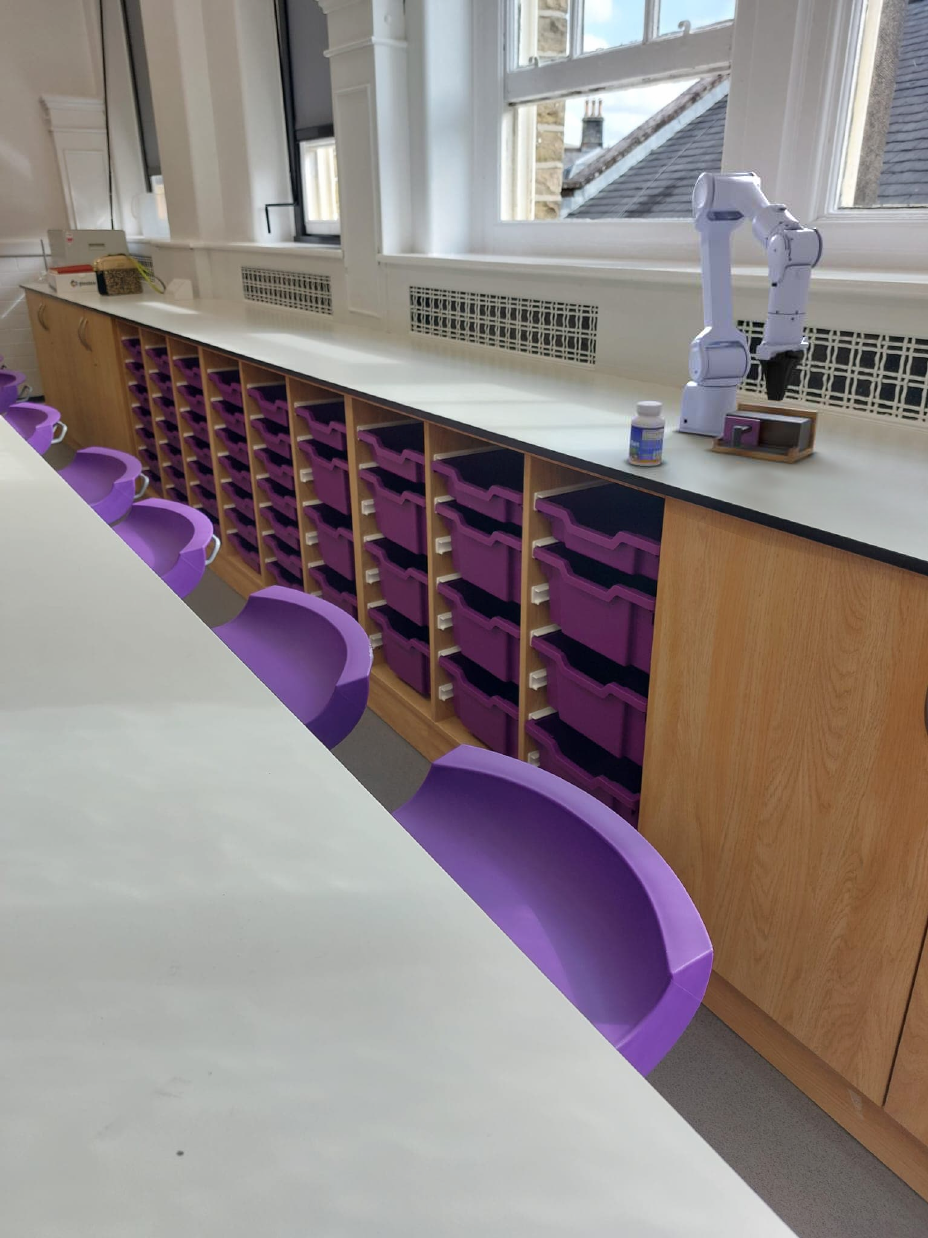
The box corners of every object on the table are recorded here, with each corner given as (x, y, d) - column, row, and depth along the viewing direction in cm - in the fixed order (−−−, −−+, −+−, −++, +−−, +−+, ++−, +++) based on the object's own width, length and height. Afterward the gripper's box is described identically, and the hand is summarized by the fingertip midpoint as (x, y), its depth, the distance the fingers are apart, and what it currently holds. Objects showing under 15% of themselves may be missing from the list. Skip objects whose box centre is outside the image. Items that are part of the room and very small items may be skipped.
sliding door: (708, 449, 147) (710, 421, 145) (724, 443, 151) (727, 415, 149) (741, 454, 144) (745, 426, 142) (757, 448, 148) (760, 420, 146)
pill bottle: (624, 459, 147) (628, 400, 143) (656, 458, 148) (660, 399, 144) (633, 467, 142) (637, 406, 138) (665, 466, 143) (670, 405, 139)
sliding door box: (712, 450, 151) (716, 410, 148) (735, 441, 157) (740, 402, 155) (791, 462, 143) (797, 419, 140) (812, 452, 149) (818, 411, 146)
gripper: (792, 317, 131) (780, 409, 136) (829, 309, 140) (816, 395, 146) (747, 315, 135) (737, 404, 141) (786, 307, 145) (776, 391, 150)
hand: (775, 399), depth 144 cm, fingers closed
